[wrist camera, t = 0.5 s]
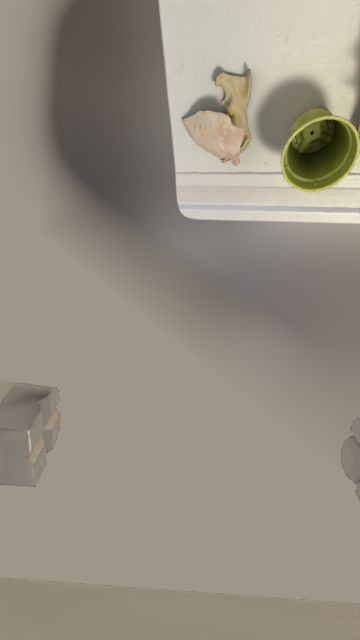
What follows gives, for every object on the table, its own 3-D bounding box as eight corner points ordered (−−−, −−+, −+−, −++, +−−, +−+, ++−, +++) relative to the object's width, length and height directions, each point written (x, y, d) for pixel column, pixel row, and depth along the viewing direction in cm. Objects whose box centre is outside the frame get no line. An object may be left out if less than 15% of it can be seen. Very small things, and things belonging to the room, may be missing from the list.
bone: (215, 70, 43) (213, 75, 42) (252, 65, 42) (251, 70, 41) (221, 161, 52) (219, 167, 51) (252, 158, 51) (251, 165, 49)
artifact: (234, 171, 48) (179, 147, 51) (243, 161, 49) (188, 138, 52) (242, 126, 42) (178, 101, 45) (252, 115, 43) (189, 91, 46)
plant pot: (269, 115, 46) (271, 140, 41) (340, 77, 42) (353, 100, 37) (287, 173, 52) (292, 202, 47) (352, 145, 48) (365, 173, 42)
